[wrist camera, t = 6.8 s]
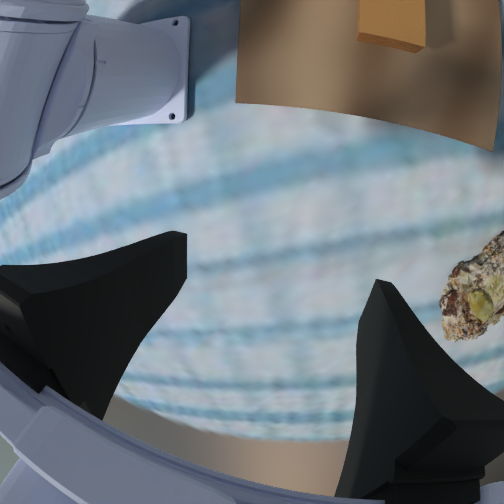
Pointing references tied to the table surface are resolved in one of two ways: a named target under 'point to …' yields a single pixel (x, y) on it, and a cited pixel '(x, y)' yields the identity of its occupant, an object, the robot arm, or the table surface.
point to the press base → (376, 65)
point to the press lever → (392, 23)
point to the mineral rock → (475, 294)
